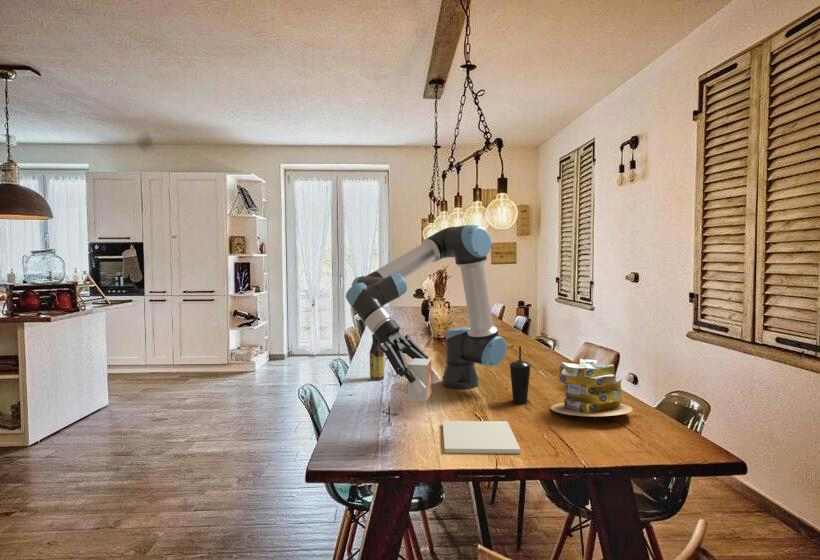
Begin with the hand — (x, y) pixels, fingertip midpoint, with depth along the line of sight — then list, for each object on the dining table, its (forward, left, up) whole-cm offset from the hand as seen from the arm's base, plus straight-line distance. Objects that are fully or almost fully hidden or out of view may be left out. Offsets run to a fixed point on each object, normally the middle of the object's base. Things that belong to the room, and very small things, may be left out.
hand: (430, 385), depth 128 cm
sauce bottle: (-28, -60, -16) cm, 68 cm away
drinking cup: (-46, 0, -16) cm, 48 cm away
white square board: (-10, +10, -15) cm, 21 cm away
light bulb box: (-78, +10, -16) cm, 80 cm away
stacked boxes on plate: (-52, +23, -16) cm, 59 cm away
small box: (+1, -3, -4) cm, 5 cm away
